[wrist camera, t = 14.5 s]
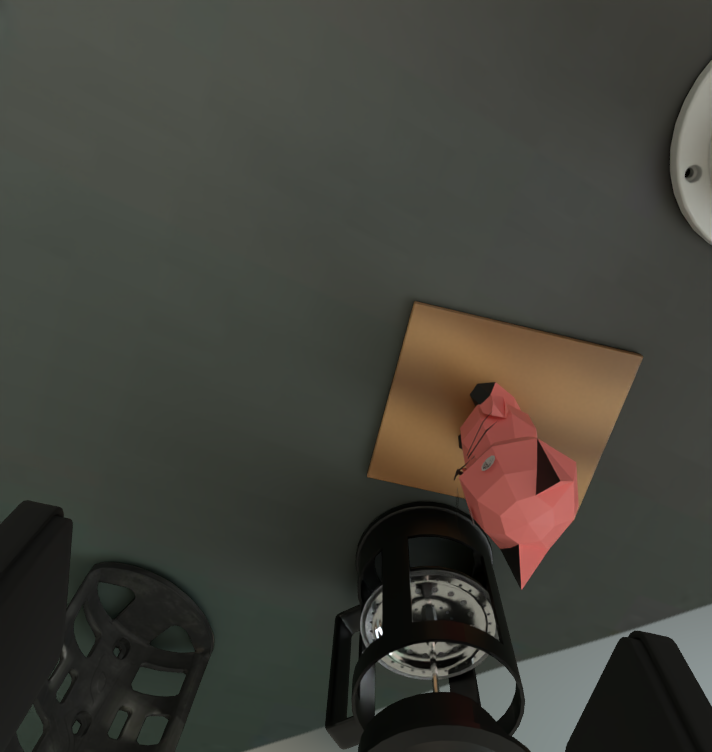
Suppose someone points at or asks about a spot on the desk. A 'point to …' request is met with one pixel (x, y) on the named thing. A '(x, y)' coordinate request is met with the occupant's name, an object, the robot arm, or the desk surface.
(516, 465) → the cat figurine
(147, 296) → the desk surface
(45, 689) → the holder
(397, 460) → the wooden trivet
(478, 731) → the french press
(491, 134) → the desk surface
